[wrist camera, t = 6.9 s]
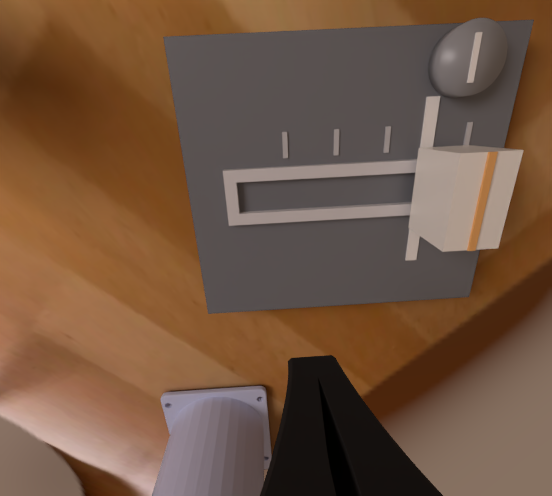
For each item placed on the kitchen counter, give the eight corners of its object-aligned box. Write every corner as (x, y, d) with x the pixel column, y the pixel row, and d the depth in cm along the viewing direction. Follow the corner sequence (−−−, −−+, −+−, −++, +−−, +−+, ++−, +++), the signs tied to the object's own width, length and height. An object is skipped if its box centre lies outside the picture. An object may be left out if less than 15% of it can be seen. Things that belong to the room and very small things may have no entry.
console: (451, 281, 20) (482, 306, 17) (213, 296, 20) (205, 324, 17) (501, 33, 15) (559, 10, 12) (176, 48, 14) (154, 28, 11)
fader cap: (448, 223, 16) (500, 249, 12) (404, 225, 16) (443, 252, 12) (463, 144, 14) (525, 150, 11) (414, 147, 14) (462, 153, 11)
